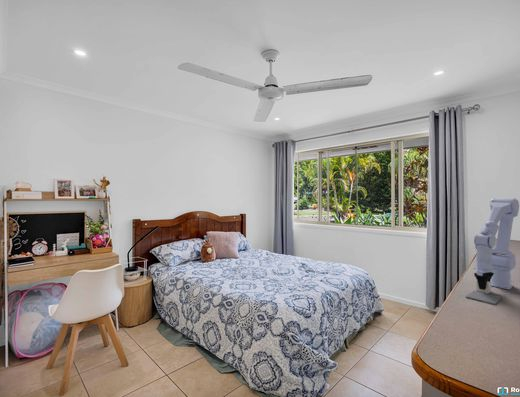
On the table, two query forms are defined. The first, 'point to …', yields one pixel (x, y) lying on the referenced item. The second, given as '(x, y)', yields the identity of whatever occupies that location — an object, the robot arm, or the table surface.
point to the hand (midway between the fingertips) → (483, 288)
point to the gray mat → (484, 297)
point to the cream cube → (487, 290)
